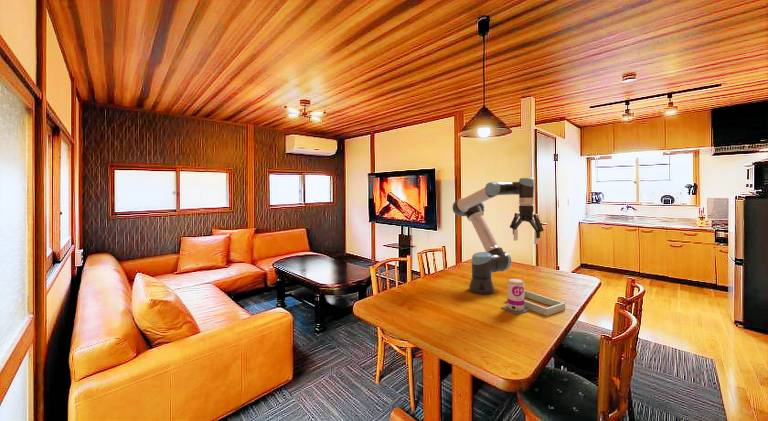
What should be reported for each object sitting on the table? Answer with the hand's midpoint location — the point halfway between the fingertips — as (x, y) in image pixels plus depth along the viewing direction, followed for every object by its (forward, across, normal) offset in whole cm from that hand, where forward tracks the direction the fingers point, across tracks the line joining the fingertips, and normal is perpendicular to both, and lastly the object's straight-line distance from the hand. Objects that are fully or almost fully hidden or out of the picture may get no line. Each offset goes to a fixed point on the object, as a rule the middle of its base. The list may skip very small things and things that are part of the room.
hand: (525, 242), depth 174 cm
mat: (+33, +9, -19) cm, 39 cm away
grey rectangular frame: (+33, +10, -5) cm, 35 cm away
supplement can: (+32, +9, -19) cm, 39 cm away
